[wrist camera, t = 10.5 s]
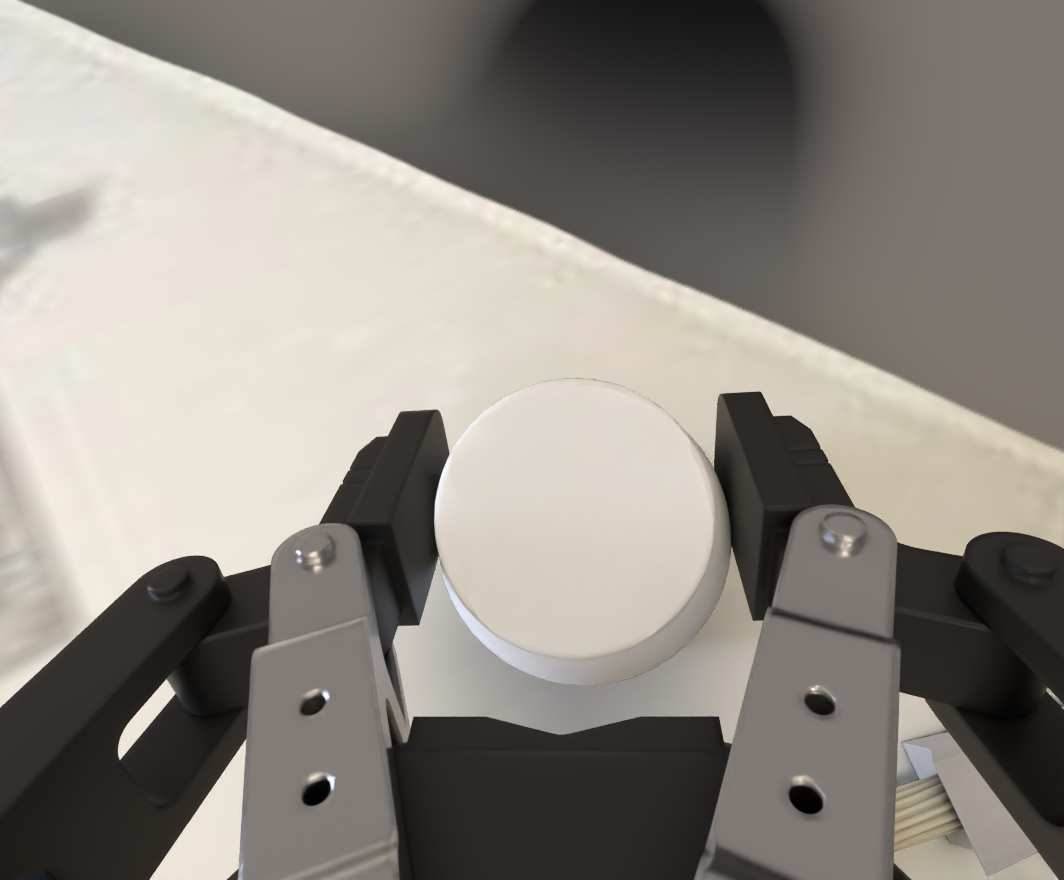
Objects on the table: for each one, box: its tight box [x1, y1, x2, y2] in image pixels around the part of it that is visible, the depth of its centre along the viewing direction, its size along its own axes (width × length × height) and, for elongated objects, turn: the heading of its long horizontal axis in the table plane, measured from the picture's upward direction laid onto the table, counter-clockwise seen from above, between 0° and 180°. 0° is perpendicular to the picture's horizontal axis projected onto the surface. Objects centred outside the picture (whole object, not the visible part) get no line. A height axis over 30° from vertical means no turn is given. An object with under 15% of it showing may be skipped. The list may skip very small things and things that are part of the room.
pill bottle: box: [434, 378, 731, 685], centre depth 14 cm, size 5×5×10 cm
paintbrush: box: [894, 707, 1064, 877], centre depth 24 cm, size 4×3×20 cm
